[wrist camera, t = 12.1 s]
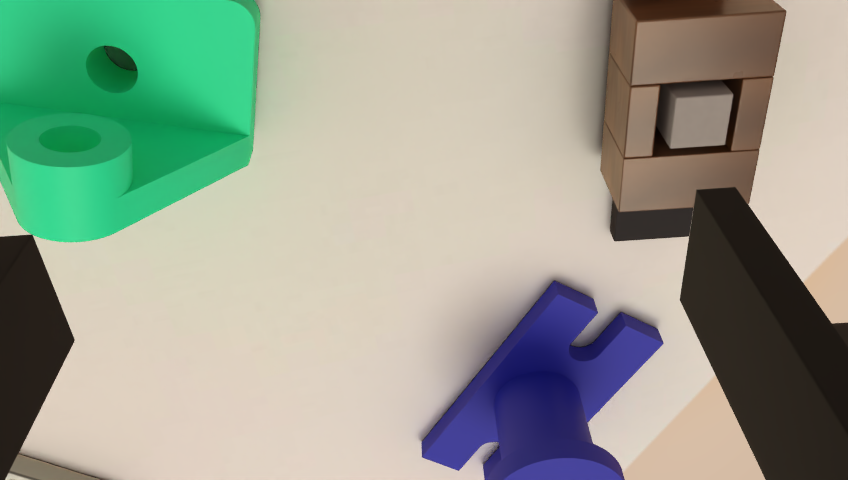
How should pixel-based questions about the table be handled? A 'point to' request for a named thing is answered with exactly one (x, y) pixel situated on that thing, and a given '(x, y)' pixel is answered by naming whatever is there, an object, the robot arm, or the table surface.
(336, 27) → the table surface
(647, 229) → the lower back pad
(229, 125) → the camera mount
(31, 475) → the hard drive
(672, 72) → the brown wooden frame
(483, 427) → the mount
